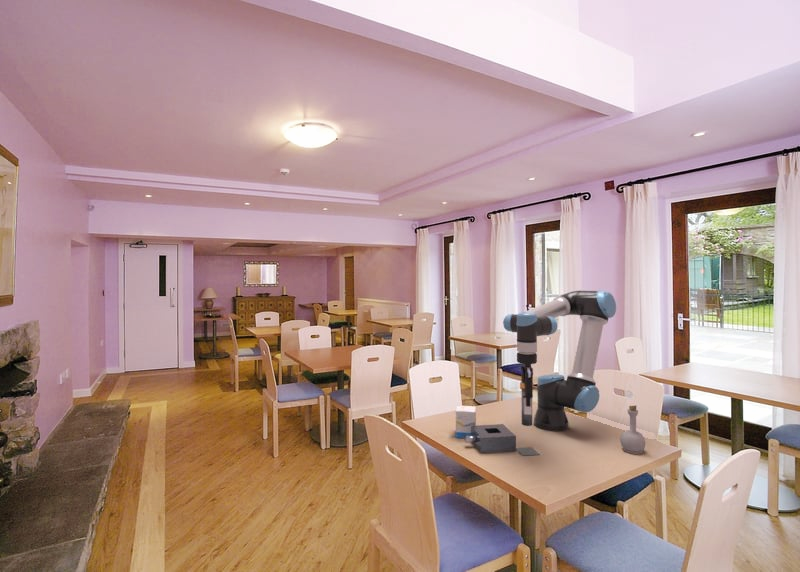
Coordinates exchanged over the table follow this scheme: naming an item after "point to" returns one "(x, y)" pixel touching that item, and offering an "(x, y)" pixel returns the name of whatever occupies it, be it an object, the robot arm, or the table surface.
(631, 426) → the potion bottle
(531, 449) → the mat
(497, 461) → the table surface
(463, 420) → the ink box
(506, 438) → the block
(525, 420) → the grey cylinder with cap
